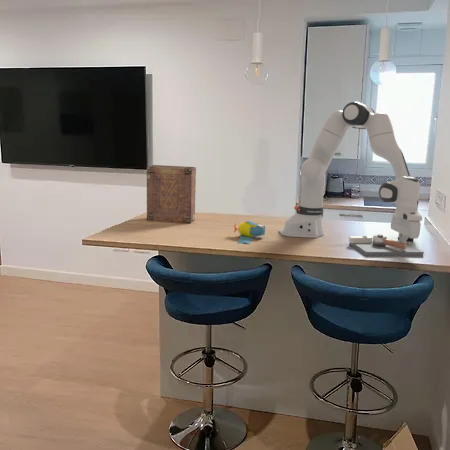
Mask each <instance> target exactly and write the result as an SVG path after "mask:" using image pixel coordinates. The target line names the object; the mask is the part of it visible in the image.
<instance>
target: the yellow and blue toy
mask: <svg viewBox="0 0 450 450" xmlns="http://www.w3.org/2000/svg"><path fill="white" fill-rule="evenodd" d="M233 229H234V231H233V233H235V232H236V231H238V233H239V234H240V235H239V238H238V241H237V243H238V244H240V245H241V244H242V245H243V244H244V245H245V244H248V245H251V244H252V241H253V239H254V238H256V237H260V236H261V237H262V236H265V234H266V225H262V223H256V222H254V221H249V220H246V221H243V222H241V223H240V224H239V226H238V224H237V223H236V222H234V224H233Z"/></svg>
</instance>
